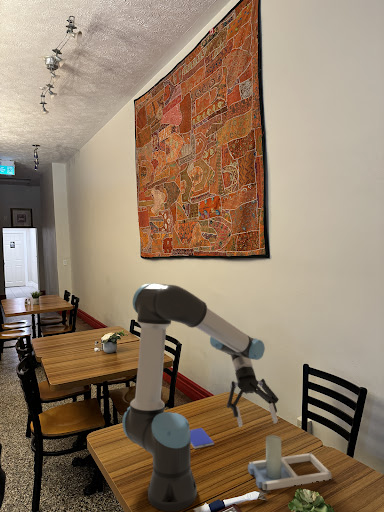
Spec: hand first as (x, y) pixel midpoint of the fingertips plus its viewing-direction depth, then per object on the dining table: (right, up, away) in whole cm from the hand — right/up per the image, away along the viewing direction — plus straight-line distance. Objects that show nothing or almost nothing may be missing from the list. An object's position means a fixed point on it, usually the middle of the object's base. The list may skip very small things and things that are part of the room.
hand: (258, 424), depth 132 cm
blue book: (-22, -13, +13) cm, 28 cm away
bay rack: (+8, -12, -11) cm, 18 cm away
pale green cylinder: (+3, -11, -12) cm, 17 cm away
